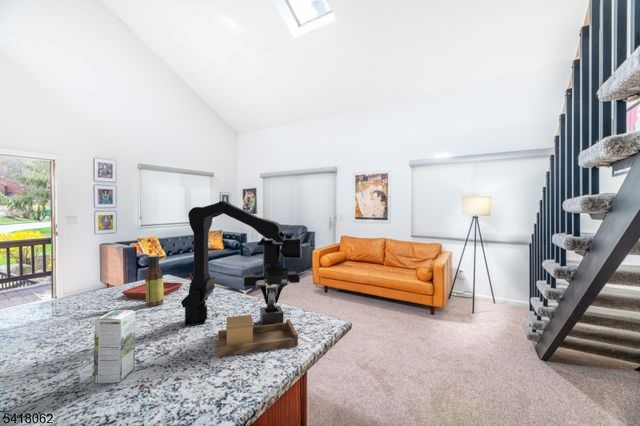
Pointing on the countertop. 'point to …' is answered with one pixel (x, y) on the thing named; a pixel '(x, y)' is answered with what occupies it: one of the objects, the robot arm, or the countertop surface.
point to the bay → (260, 339)
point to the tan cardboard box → (239, 330)
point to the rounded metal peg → (271, 297)
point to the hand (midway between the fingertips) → (271, 303)
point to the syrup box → (114, 346)
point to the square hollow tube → (271, 315)
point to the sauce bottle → (154, 282)
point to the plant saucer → (141, 290)
